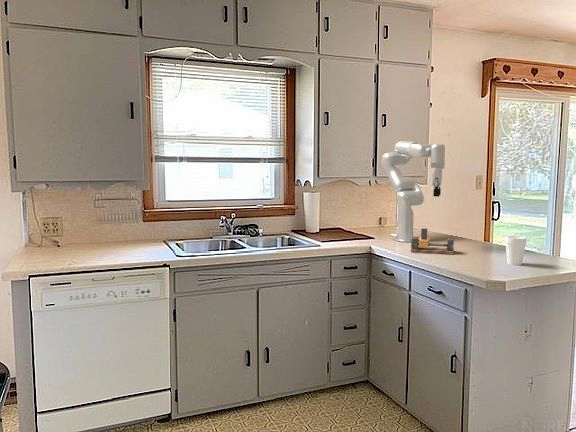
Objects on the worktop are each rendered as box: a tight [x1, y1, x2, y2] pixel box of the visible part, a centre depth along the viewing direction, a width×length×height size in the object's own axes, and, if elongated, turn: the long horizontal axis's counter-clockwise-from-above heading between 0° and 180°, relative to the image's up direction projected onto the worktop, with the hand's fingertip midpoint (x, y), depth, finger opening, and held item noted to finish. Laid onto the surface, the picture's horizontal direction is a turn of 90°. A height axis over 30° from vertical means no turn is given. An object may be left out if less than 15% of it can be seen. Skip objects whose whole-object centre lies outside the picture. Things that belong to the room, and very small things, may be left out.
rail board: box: [410, 236, 455, 256], centre depth 265 cm, size 22×12×8 cm, turn 69°
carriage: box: [418, 227, 430, 248], centre depth 266 cm, size 5×7×10 cm
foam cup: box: [504, 235, 527, 266], centre depth 231 cm, size 10×9×13 cm
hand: (436, 195), depth 274 cm, fingers open, 9 cm apart
